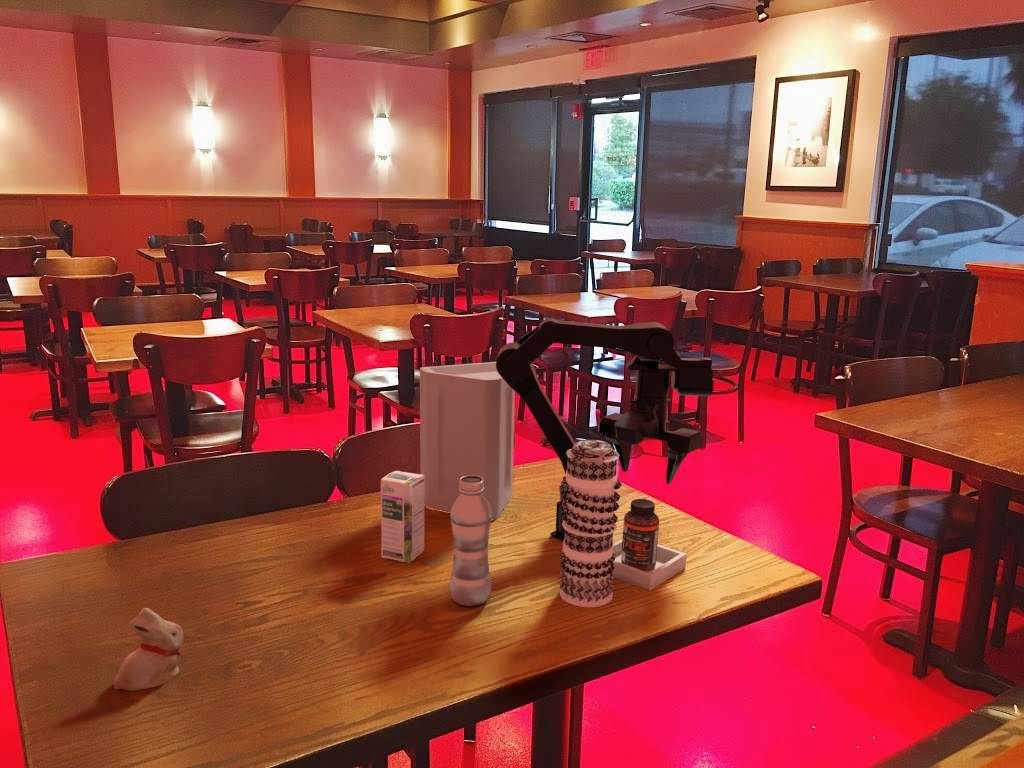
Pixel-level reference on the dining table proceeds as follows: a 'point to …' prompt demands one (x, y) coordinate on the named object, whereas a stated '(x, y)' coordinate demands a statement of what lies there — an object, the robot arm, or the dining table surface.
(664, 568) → the tray
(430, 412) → the triangular storage bin
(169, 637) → the chocolate bunny
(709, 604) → the dining table surface
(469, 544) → the plastic bottle
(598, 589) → the decorative candle
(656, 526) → the supplement bottle
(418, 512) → the syrup box
